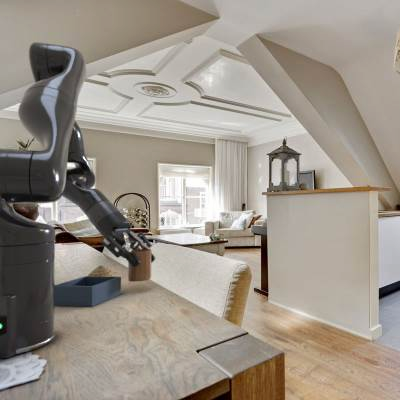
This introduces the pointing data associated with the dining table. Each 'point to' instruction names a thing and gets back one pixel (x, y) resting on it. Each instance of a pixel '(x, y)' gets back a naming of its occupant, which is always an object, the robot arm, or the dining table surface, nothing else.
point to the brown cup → (140, 266)
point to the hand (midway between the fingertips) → (145, 262)
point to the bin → (86, 291)
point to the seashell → (102, 272)
